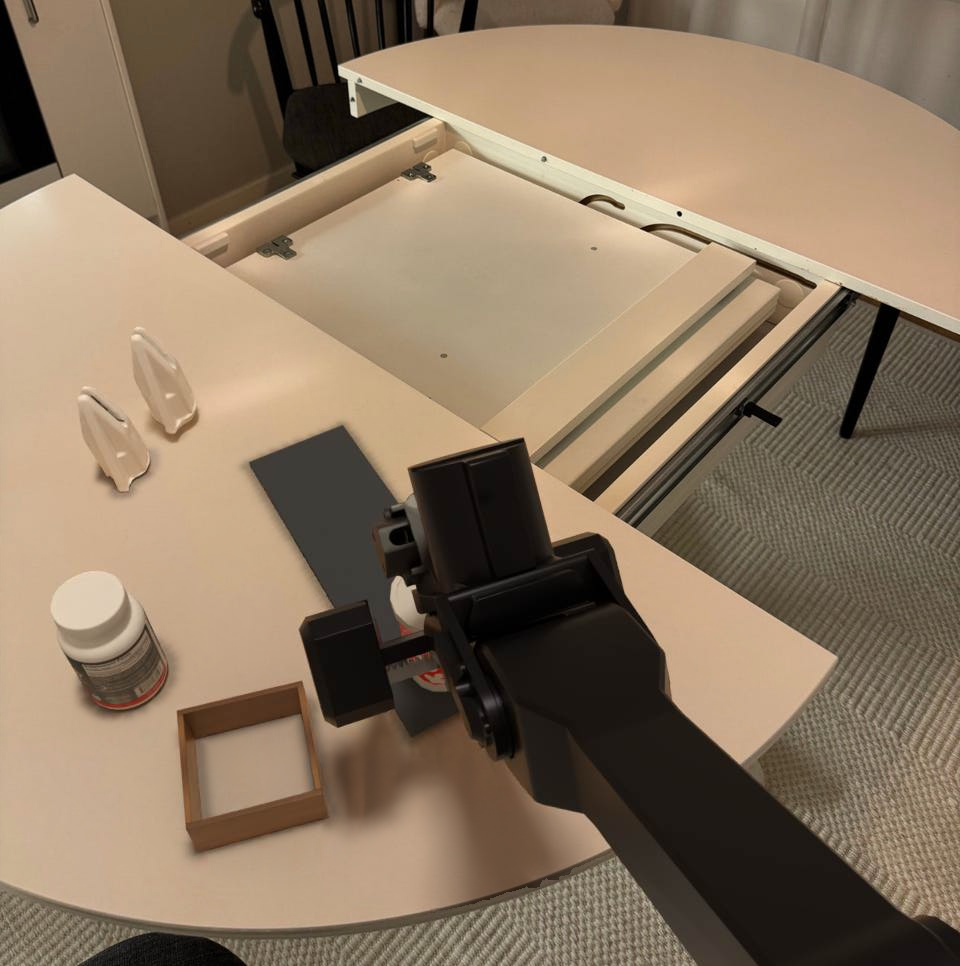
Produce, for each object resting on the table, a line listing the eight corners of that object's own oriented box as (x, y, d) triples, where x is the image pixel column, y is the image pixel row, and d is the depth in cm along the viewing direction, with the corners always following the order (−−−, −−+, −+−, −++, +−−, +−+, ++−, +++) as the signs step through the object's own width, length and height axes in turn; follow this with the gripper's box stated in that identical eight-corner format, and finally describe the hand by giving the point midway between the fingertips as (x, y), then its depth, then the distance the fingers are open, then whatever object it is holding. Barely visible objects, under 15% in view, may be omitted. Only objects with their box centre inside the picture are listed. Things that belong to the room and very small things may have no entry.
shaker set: (179, 393, 90) (148, 297, 81) (215, 408, 88) (187, 311, 80) (88, 477, 83) (44, 381, 74) (125, 494, 81) (85, 398, 73)
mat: (521, 678, 69) (521, 675, 69) (411, 737, 66) (411, 734, 66) (343, 427, 87) (342, 424, 86) (249, 464, 84) (248, 461, 83)
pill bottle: (86, 654, 71) (41, 574, 63) (165, 635, 72) (129, 554, 64) (89, 722, 67) (41, 645, 60) (172, 700, 68) (135, 622, 61)
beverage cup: (449, 717, 67) (444, 601, 56) (381, 673, 69) (363, 554, 59) (499, 654, 70) (502, 535, 60) (432, 614, 73) (424, 492, 62)
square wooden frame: (329, 817, 62) (322, 794, 60) (198, 851, 61) (185, 829, 58) (308, 705, 68) (302, 680, 65) (188, 735, 66) (176, 710, 64)
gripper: (630, 446, 50) (538, 452, 65) (279, 546, 46) (267, 527, 61) (680, 649, 51) (578, 608, 66) (340, 766, 47) (314, 693, 62)
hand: (439, 605), depth 64 cm, fingers open, 9 cm apart
